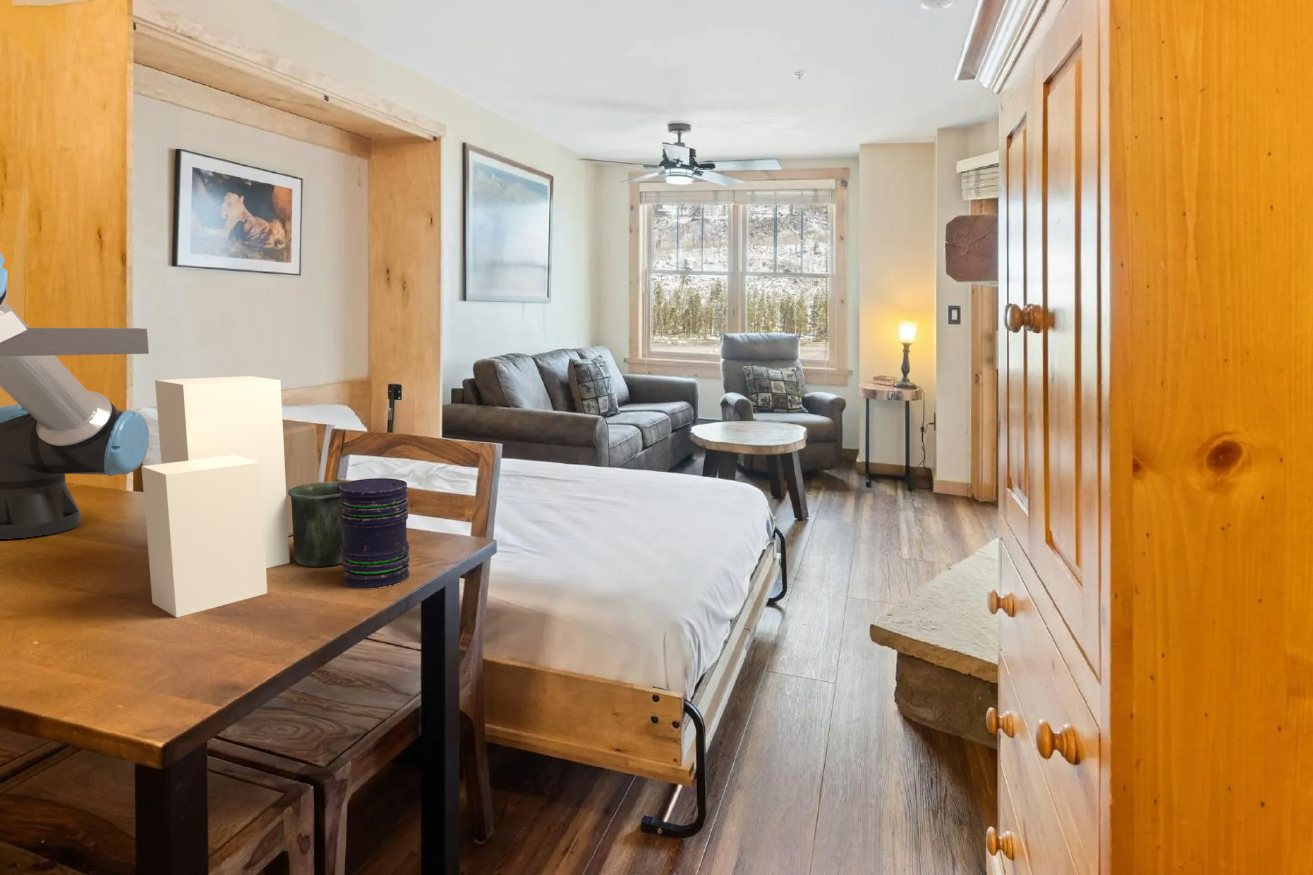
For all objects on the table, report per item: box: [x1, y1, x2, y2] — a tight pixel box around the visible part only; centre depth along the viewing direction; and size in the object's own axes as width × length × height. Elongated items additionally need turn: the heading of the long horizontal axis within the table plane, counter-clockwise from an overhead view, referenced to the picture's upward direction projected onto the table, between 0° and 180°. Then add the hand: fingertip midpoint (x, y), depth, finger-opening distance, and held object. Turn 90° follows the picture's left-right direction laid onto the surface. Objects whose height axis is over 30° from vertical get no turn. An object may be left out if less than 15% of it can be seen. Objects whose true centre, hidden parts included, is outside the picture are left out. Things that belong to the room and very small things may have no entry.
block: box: [282, 420, 320, 537], centre depth 142 cm, size 10×10×20 cm
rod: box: [0, 326, 150, 356], centre depth 99 cm, size 4×22×4 cm, turn 143°
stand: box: [154, 375, 291, 569], centre depth 119 cm, size 10×14×30 cm
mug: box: [288, 481, 347, 568], centre depth 128 cm, size 11×15×12 cm
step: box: [141, 455, 268, 619], centre depth 107 cm, size 8×12×20 cm, turn 143°
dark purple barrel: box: [340, 477, 411, 589], centre depth 117 cm, size 10×10×15 cm
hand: (13, 320), depth 96 cm, fingers closed on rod, 3 cm apart
